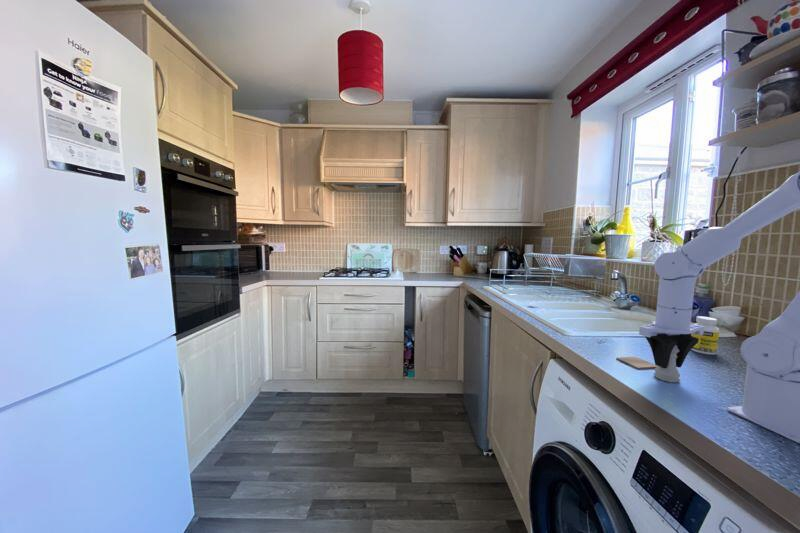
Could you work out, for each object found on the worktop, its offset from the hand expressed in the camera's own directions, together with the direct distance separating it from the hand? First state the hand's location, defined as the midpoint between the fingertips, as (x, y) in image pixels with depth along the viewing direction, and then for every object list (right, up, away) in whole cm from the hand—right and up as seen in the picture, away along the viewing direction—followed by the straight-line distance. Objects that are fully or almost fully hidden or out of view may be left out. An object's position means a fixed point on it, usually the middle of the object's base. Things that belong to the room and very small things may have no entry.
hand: (667, 365), depth 66 cm
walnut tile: (0, -2, +8) cm, 9 cm away
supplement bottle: (+26, -2, +17) cm, 31 cm away
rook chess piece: (0, -3, 0) cm, 3 cm away
